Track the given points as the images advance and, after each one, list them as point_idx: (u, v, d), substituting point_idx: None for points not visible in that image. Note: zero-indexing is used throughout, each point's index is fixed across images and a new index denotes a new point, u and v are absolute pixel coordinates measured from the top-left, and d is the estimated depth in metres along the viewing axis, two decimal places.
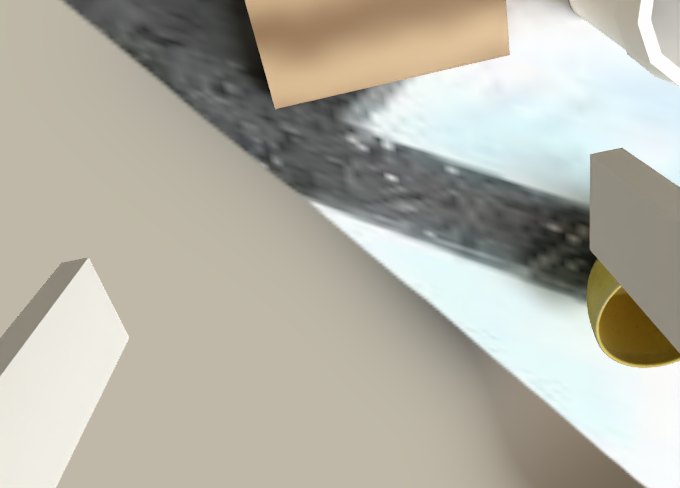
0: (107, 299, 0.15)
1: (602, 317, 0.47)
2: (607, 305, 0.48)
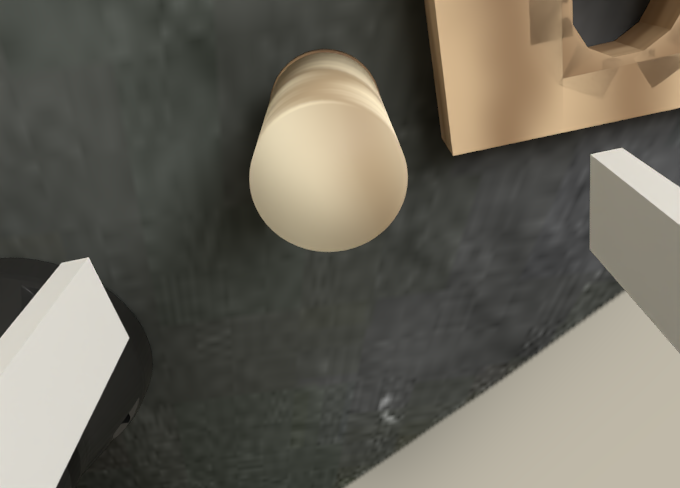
0: (107, 298, 0.15)
1: None
2: None
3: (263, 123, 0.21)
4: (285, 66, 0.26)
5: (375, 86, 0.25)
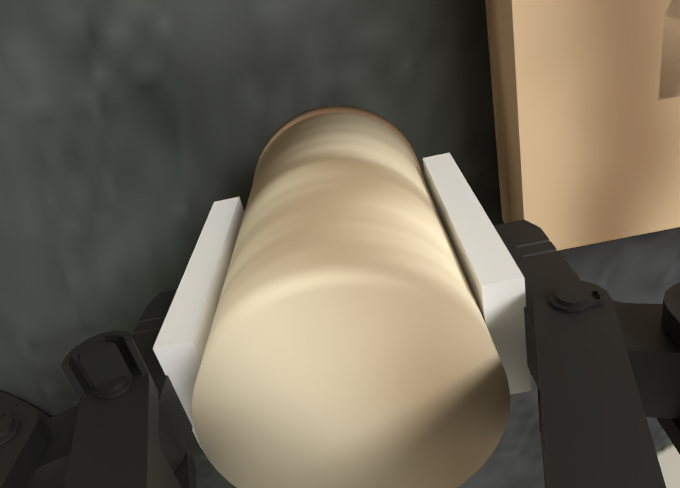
0: None
1: None
2: None
3: (229, 269, 0.11)
4: (276, 132, 0.17)
5: (418, 168, 0.16)
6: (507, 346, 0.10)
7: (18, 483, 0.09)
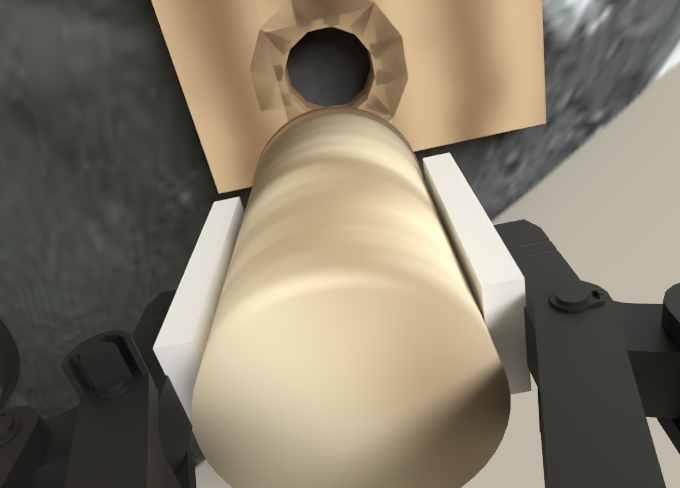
0: None
1: None
2: None
3: (229, 271, 0.11)
4: (276, 133, 0.17)
5: (419, 170, 0.16)
6: (507, 346, 0.10)
7: (18, 483, 0.09)
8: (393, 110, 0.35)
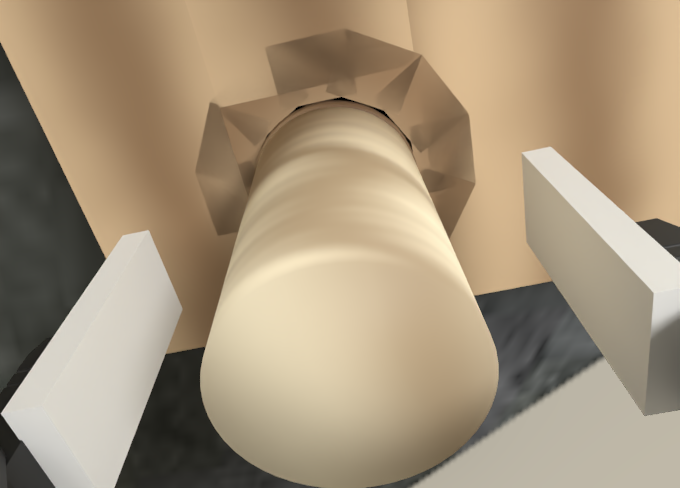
0: (164, 270, 0.16)
1: None
2: None
3: (233, 253, 0.12)
4: (277, 126, 0.18)
5: (414, 160, 0.17)
6: (670, 360, 0.09)
7: None
8: (447, 233, 0.20)
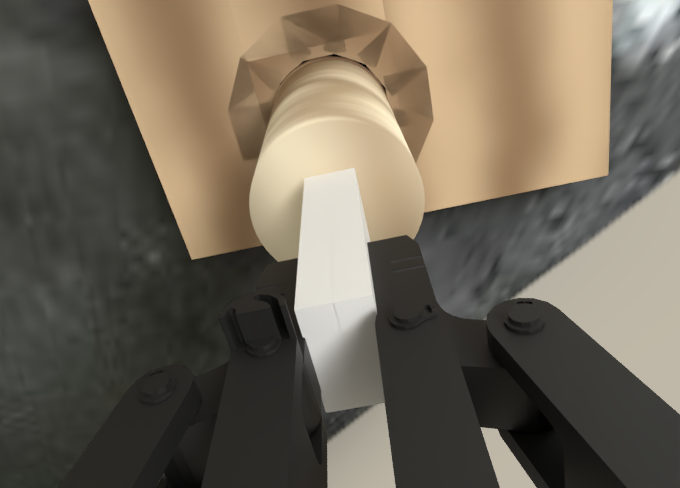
0: None
1: None
2: None
3: (264, 139, 0.19)
4: (288, 74, 0.25)
5: (385, 96, 0.23)
6: (366, 358, 0.11)
7: (170, 445, 0.09)
8: None
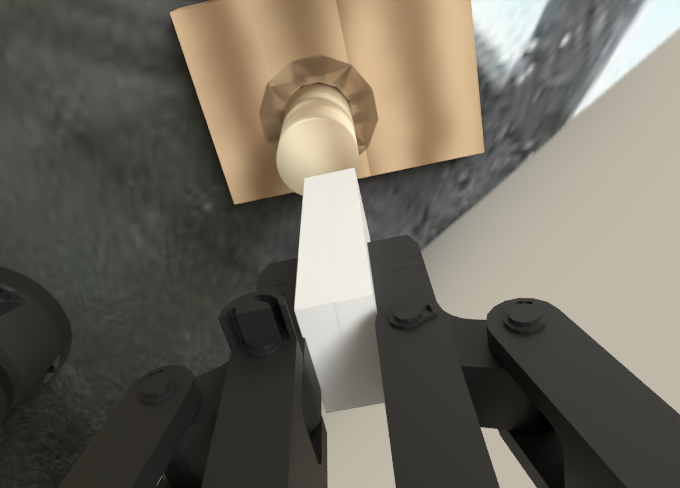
0: None
1: None
2: None
3: (282, 129, 0.38)
4: None
5: (347, 106, 0.42)
6: (366, 358, 0.11)
7: (170, 445, 0.09)
8: (367, 142, 0.46)
